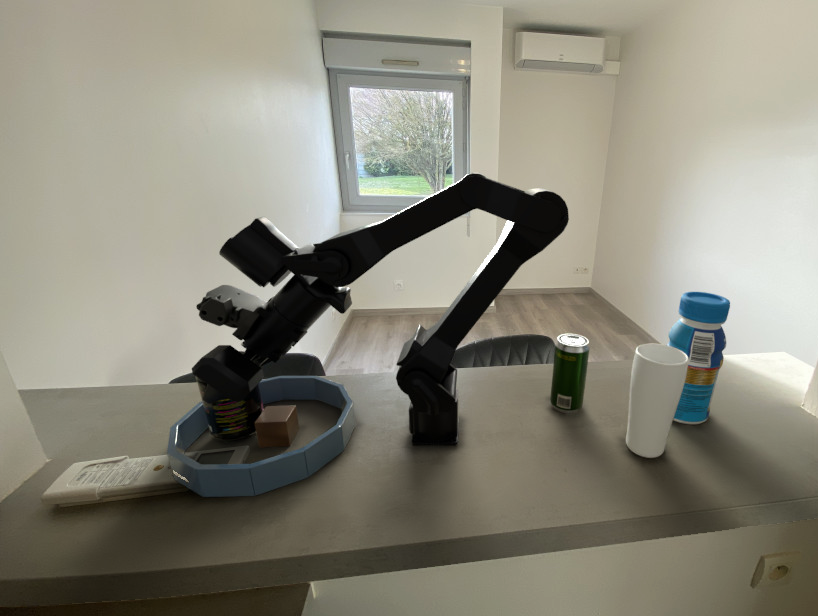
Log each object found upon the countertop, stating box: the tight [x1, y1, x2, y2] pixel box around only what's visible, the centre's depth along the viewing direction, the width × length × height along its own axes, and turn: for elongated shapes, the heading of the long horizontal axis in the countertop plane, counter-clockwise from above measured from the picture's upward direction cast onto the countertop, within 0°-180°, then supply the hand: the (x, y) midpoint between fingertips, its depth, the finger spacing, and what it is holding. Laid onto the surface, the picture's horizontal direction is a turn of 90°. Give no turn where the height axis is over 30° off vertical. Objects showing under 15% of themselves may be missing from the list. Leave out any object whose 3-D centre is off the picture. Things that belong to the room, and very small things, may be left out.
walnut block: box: [255, 404, 300, 448], centre depth 57 cm, size 4×4×4 cm
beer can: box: [549, 333, 590, 414], centre depth 66 cm, size 5×5×12 cm
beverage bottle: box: [666, 291, 731, 425], centre depth 64 cm, size 8×8×20 cm
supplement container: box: [194, 350, 265, 442], centre depth 56 cm, size 7×7×10 cm
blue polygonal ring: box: [166, 375, 356, 498], centre depth 57 cm, size 22×22×4 cm
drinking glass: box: [625, 342, 689, 459], centre depth 56 cm, size 7×7×15 cm
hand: (221, 386), depth 55 cm, fingers closed on supplement container, 7 cm apart
